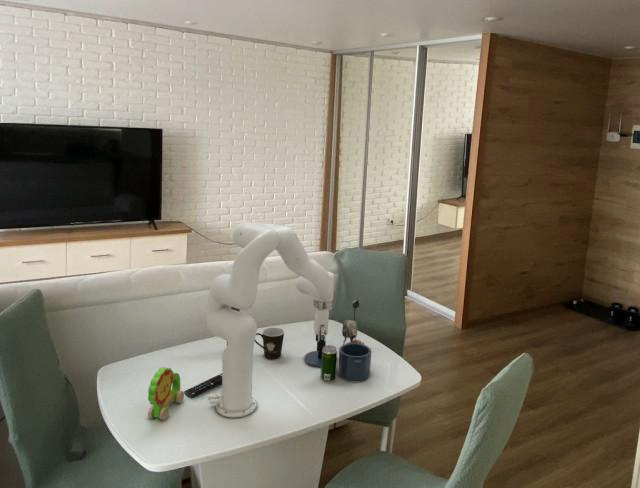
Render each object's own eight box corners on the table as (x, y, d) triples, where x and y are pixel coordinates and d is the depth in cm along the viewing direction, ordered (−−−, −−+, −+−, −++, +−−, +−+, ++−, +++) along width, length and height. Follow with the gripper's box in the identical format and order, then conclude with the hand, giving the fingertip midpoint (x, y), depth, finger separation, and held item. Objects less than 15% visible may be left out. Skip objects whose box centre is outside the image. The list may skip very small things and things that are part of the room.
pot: (340, 385, 187) (341, 360, 186) (336, 363, 204) (337, 340, 202) (372, 385, 188) (374, 360, 187) (366, 363, 205) (367, 340, 204)
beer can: (335, 383, 188) (337, 351, 187) (320, 382, 188) (322, 351, 186) (335, 376, 194) (337, 345, 192) (320, 375, 193) (322, 344, 192)
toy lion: (169, 397, 173) (170, 354, 171) (185, 399, 172) (185, 356, 170) (142, 424, 158) (142, 376, 156) (159, 427, 157) (159, 379, 155)
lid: (304, 368, 198) (305, 351, 197) (304, 353, 211) (304, 337, 210) (338, 368, 200) (339, 351, 199) (335, 353, 212) (336, 337, 212)
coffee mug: (287, 355, 208) (288, 331, 207) (273, 363, 201) (274, 338, 200) (265, 347, 215) (266, 324, 213) (251, 354, 207) (251, 330, 206)
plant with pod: (335, 345, 219) (338, 300, 217) (359, 341, 225) (361, 296, 223) (345, 353, 212) (347, 306, 210) (368, 348, 218) (371, 302, 216)
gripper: (312, 296, 210) (309, 337, 212) (314, 311, 193) (311, 355, 195) (330, 296, 211) (328, 337, 213) (334, 311, 194) (331, 355, 196)
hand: (320, 345), depth 204 cm, fingers open, 9 cm apart
